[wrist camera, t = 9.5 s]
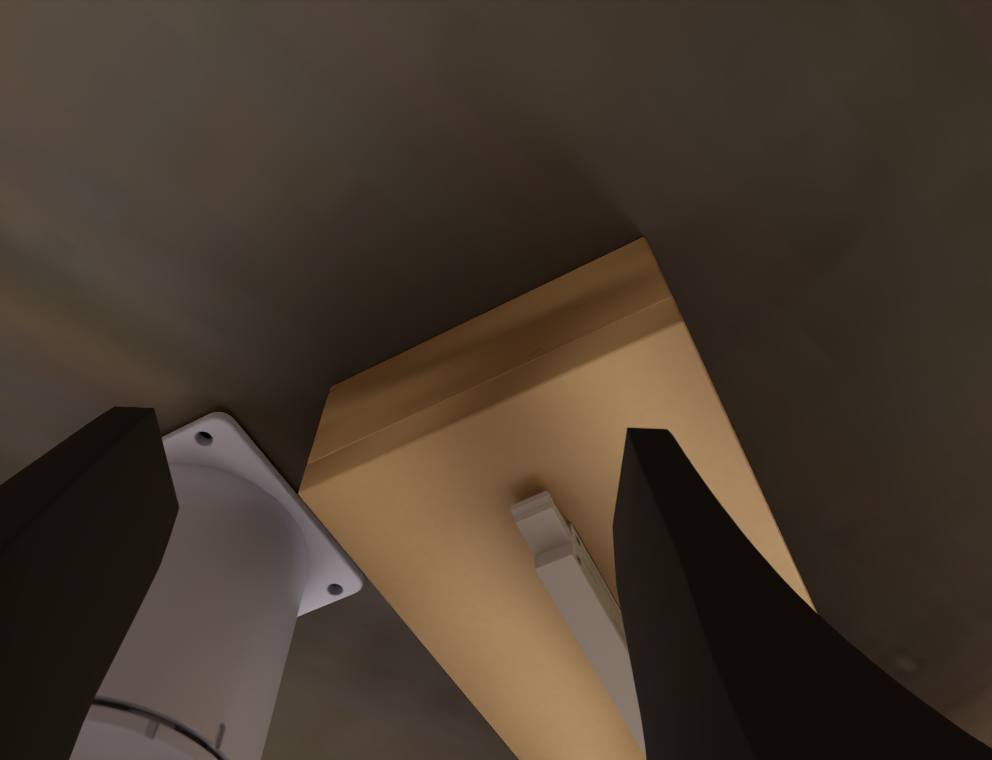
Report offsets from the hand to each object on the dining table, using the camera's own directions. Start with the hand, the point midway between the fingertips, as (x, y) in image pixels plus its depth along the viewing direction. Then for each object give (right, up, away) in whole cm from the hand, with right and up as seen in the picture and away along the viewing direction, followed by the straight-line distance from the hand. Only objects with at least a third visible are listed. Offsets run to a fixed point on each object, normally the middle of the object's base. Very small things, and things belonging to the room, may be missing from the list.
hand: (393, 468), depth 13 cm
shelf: (+7, -7, +16) cm, 19 cm away
